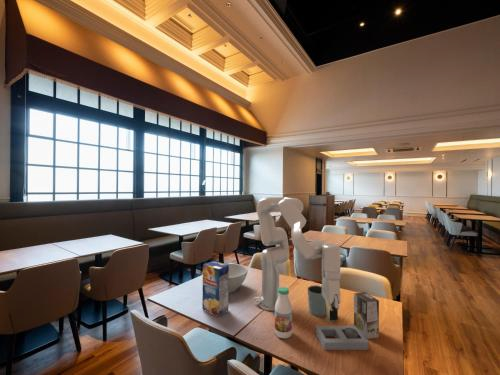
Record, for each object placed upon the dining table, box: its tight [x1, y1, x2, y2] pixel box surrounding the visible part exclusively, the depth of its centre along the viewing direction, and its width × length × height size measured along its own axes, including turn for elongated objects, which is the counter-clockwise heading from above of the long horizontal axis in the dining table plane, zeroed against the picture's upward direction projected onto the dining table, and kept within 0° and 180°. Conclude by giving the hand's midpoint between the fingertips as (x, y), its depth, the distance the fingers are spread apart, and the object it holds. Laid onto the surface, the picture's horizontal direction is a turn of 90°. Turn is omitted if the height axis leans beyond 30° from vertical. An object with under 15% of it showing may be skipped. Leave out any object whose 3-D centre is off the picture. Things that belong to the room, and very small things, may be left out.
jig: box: [315, 325, 370, 351], centre depth 99 cm, size 18×11×4 cm, turn 91°
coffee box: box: [353, 291, 380, 340], centre depth 105 cm, size 9×6×16 cm
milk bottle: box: [274, 286, 293, 339], centre depth 103 cm, size 8×8×20 cm
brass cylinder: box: [325, 301, 338, 324], centre depth 98 cm, size 4×4×9 cm
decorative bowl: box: [225, 262, 249, 294], centre depth 149 cm, size 27×27×12 cm
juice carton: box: [201, 260, 229, 317], centre depth 123 cm, size 12×8×24 cm, turn 55°
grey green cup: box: [307, 284, 326, 317], centre depth 121 cm, size 10×10×12 cm
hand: (331, 316), depth 98 cm, fingers closed on brass cylinder, 4 cm apart
